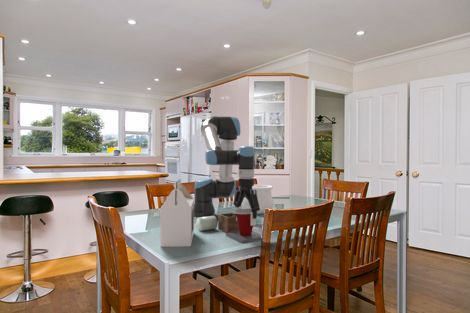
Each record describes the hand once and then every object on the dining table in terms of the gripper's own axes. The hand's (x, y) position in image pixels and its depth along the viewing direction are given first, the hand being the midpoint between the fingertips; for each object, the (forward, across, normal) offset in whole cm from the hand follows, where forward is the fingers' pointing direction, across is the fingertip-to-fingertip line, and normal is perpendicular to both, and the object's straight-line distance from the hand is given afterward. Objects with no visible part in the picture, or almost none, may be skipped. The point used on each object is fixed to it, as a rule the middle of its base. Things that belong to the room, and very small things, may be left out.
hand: (245, 222), depth 152 cm
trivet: (+7, 0, 0) cm, 7 cm away
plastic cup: (+6, 0, 0) cm, 6 cm away
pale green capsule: (+7, -22, -10) cm, 25 cm away
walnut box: (+7, -16, 0) cm, 17 cm away
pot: (+8, -50, +44) cm, 66 cm away
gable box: (+8, -13, -29) cm, 33 cm away
